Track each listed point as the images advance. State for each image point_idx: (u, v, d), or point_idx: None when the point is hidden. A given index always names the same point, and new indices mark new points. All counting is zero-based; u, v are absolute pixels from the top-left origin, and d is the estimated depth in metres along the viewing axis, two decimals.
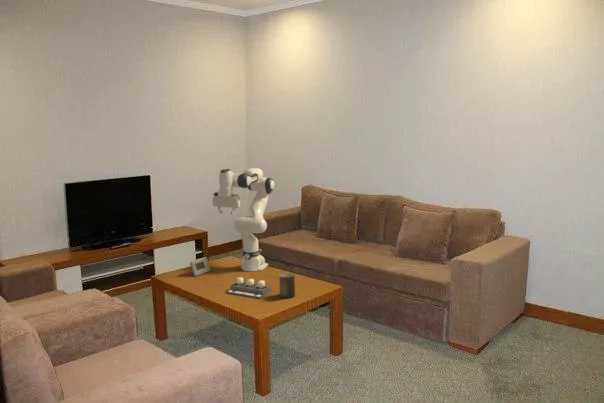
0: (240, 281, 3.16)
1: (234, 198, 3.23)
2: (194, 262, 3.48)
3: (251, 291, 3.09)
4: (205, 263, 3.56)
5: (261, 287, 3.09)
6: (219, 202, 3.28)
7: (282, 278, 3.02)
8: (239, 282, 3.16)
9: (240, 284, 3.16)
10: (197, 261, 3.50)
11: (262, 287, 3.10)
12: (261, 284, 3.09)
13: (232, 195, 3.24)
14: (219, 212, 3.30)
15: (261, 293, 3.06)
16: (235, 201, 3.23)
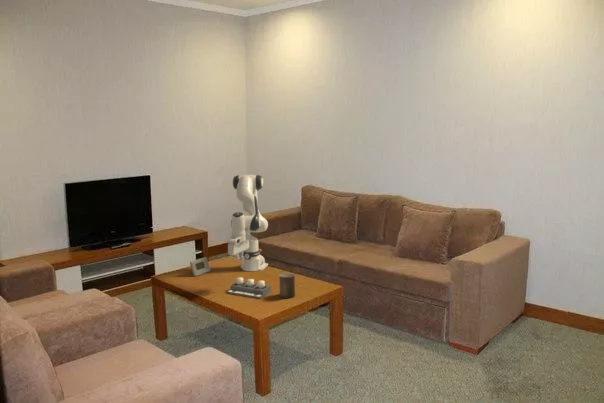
0: (240, 281, 3.16)
1: (247, 239, 3.20)
2: (194, 262, 3.48)
3: (251, 291, 3.09)
4: (205, 263, 3.56)
5: (261, 287, 3.09)
6: (237, 248, 3.10)
7: (282, 278, 3.02)
8: (239, 282, 3.16)
9: (240, 284, 3.16)
10: (197, 261, 3.50)
11: (262, 287, 3.10)
12: (261, 284, 3.09)
13: None
14: (238, 258, 3.13)
15: (261, 293, 3.06)
16: (247, 242, 3.20)
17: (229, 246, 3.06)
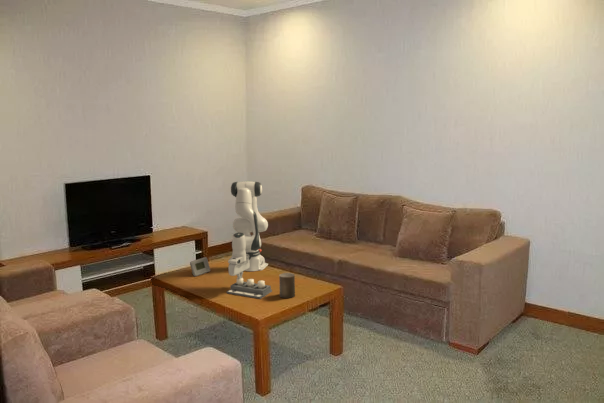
0: (240, 281, 3.16)
1: (247, 259, 3.22)
2: (194, 262, 3.48)
3: (251, 291, 3.09)
4: (205, 263, 3.55)
5: (261, 287, 3.09)
6: (238, 268, 3.12)
7: (282, 278, 3.02)
8: (239, 282, 3.16)
9: (240, 284, 3.16)
10: (197, 261, 3.50)
11: (262, 287, 3.10)
12: (261, 284, 3.09)
13: None
14: (240, 278, 3.16)
15: (261, 293, 3.06)
16: (248, 261, 3.23)
17: (230, 266, 3.08)
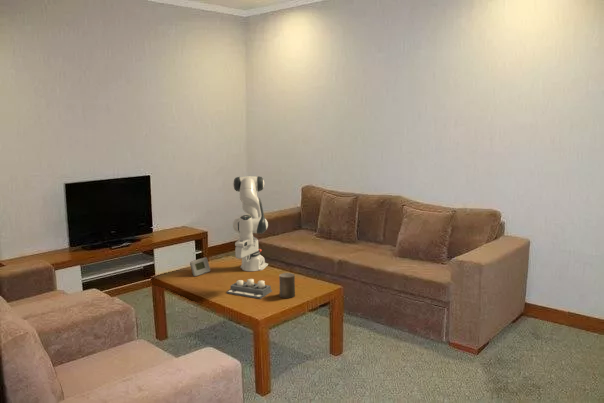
0: (240, 284, 3.16)
1: (254, 242, 3.17)
2: (194, 262, 3.48)
3: (251, 291, 3.09)
4: (205, 263, 3.55)
5: (261, 287, 3.09)
6: (245, 251, 3.07)
7: (282, 278, 3.02)
8: (239, 285, 3.16)
9: None
10: (197, 261, 3.50)
11: (262, 287, 3.10)
12: (261, 284, 3.09)
13: None
14: (247, 261, 3.11)
15: (261, 293, 3.06)
16: (255, 245, 3.18)
17: (236, 249, 3.03)
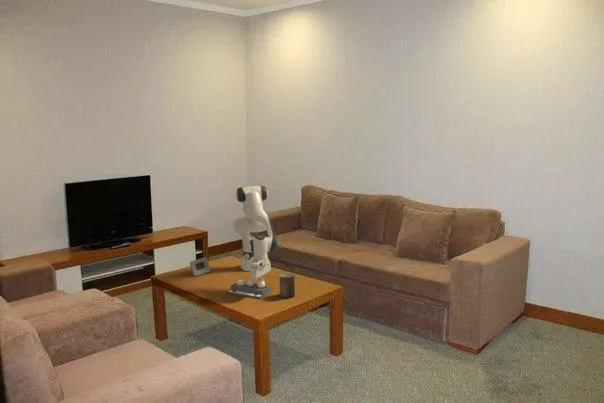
0: (240, 284, 3.16)
1: (268, 262, 3.15)
2: (194, 262, 3.48)
3: (251, 291, 3.09)
4: (205, 263, 3.55)
5: (261, 287, 3.09)
6: (260, 271, 3.05)
7: (282, 278, 3.02)
8: (239, 285, 3.16)
9: None
10: (197, 261, 3.50)
11: (262, 287, 3.10)
12: (261, 284, 3.09)
13: None
14: (261, 281, 3.09)
15: (261, 293, 3.06)
16: (269, 264, 3.16)
17: (251, 270, 3.01)
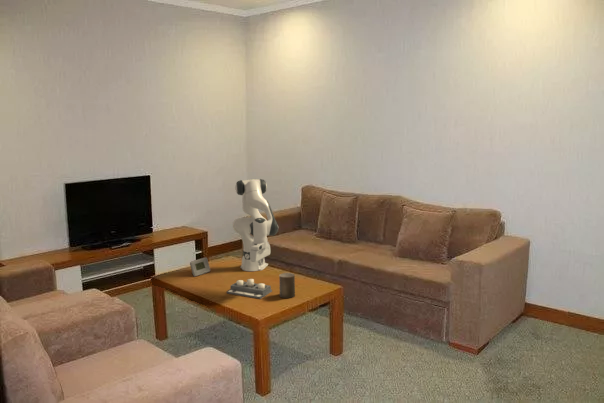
0: (240, 284, 3.16)
1: (268, 245, 3.13)
2: (194, 262, 3.48)
3: (251, 291, 3.09)
4: (205, 263, 3.55)
5: None
6: (259, 254, 3.03)
7: (282, 278, 3.02)
8: (239, 285, 3.16)
9: None
10: (197, 261, 3.50)
11: None
12: (261, 287, 3.09)
13: None
14: (261, 264, 3.08)
15: (261, 293, 3.06)
16: (269, 248, 3.14)
17: (251, 252, 3.00)
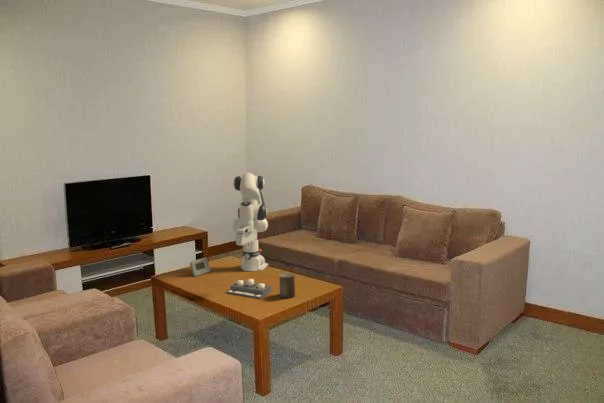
0: (240, 284, 3.16)
1: (255, 229, 3.12)
2: (194, 262, 3.48)
3: (251, 291, 3.09)
4: (205, 263, 3.55)
5: None
6: (245, 238, 3.02)
7: (282, 278, 3.02)
8: (239, 285, 3.16)
9: None
10: (197, 261, 3.50)
11: None
12: (261, 287, 3.09)
13: None
14: (247, 248, 3.07)
15: (261, 293, 3.06)
16: (255, 232, 3.13)
17: (237, 236, 2.98)
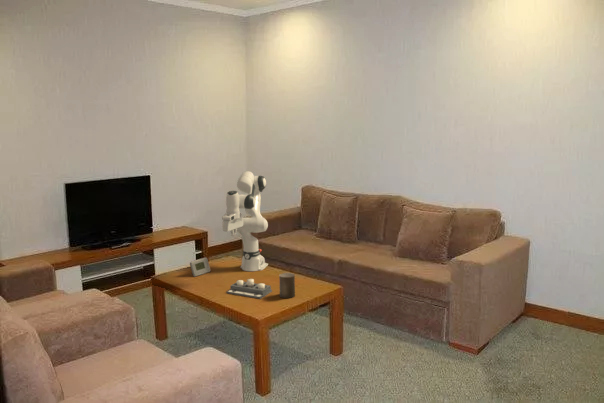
0: (240, 284, 3.16)
1: (241, 217, 3.32)
2: (194, 262, 3.47)
3: (251, 291, 3.09)
4: (205, 263, 3.55)
5: None
6: (232, 225, 3.22)
7: (282, 278, 3.02)
8: (239, 285, 3.16)
9: None
10: (197, 261, 3.50)
11: None
12: (261, 287, 3.09)
13: None
14: (233, 235, 3.26)
15: (261, 293, 3.06)
16: (242, 219, 3.33)
17: (224, 223, 3.18)
